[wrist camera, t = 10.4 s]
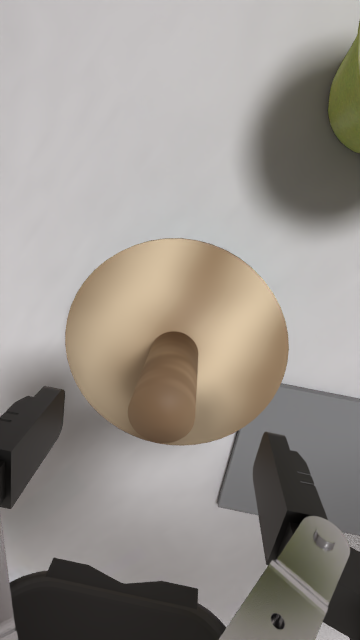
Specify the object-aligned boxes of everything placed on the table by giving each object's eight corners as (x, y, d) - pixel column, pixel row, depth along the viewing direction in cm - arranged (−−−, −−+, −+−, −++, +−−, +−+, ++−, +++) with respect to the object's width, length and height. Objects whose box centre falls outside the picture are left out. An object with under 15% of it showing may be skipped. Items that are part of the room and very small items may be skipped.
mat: (417, 410, 26) (422, 415, 25) (358, 529, 30) (360, 535, 29) (253, 377, 26) (254, 381, 25) (217, 501, 30) (217, 507, 30)
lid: (315, 263, 18) (377, 295, 11) (253, 454, 22) (273, 555, 16) (79, 217, 18) (8, 223, 11) (63, 415, 22) (6, 500, 16)
